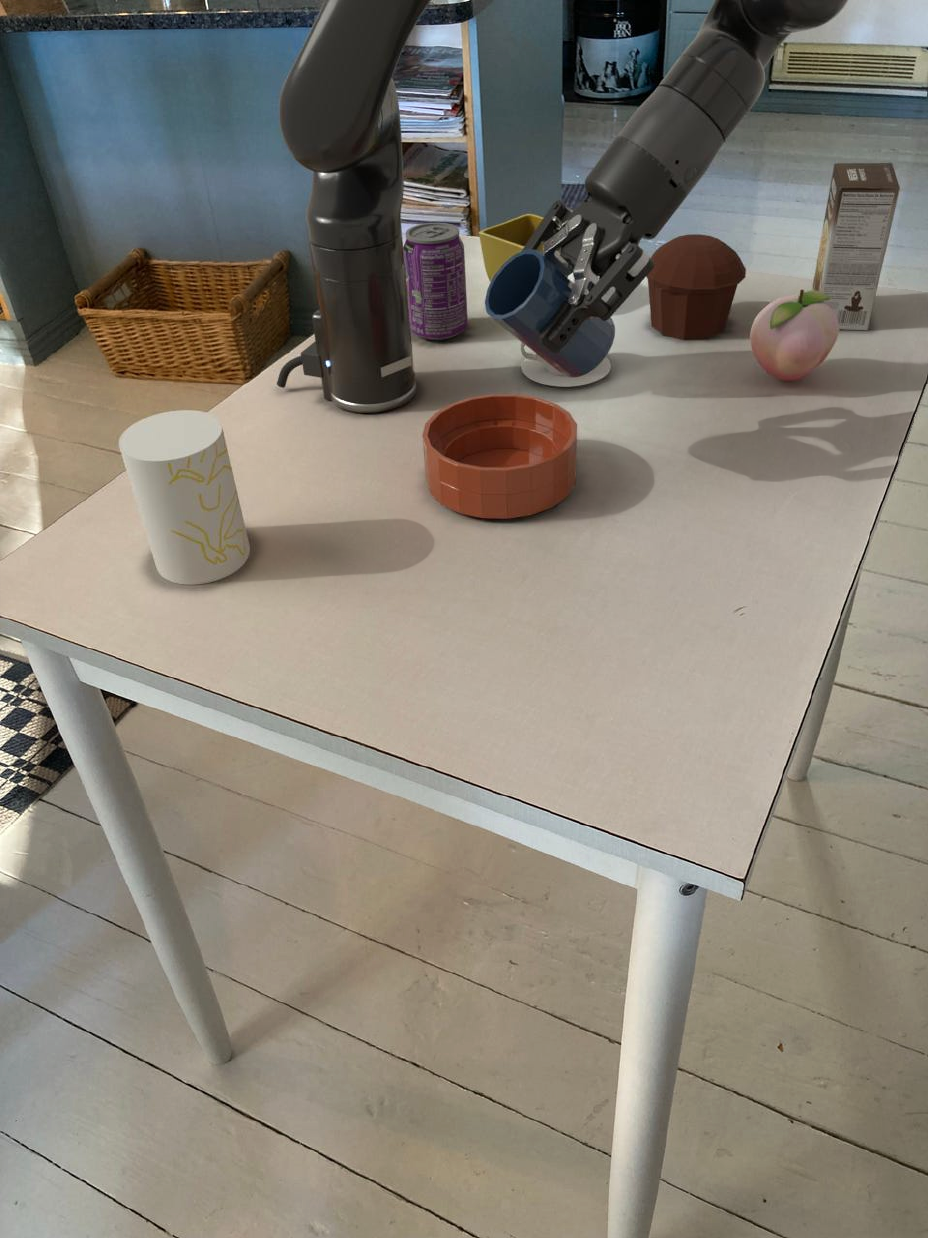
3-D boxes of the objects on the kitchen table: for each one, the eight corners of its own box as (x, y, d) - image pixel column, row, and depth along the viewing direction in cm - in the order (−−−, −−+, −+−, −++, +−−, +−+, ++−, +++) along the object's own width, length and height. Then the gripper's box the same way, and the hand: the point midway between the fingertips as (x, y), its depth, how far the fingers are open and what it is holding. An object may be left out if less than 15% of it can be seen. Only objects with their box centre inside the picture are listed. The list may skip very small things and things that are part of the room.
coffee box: (808, 298, 123) (832, 160, 113) (862, 300, 122) (892, 161, 112) (812, 329, 116) (839, 185, 106) (870, 331, 115) (903, 186, 105)
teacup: (604, 348, 115) (605, 309, 112) (616, 387, 107) (619, 346, 104) (517, 353, 115) (517, 314, 112) (524, 393, 107) (523, 352, 104)
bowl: (402, 506, 92) (396, 454, 88) (463, 434, 101) (460, 384, 98) (545, 536, 87) (545, 482, 83) (595, 457, 96) (597, 406, 93)
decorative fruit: (770, 354, 112) (784, 266, 105) (839, 373, 107) (858, 282, 101) (727, 386, 106) (739, 294, 100) (798, 407, 102) (815, 313, 96)
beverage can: (433, 315, 125) (426, 217, 117) (479, 327, 121) (475, 226, 114) (398, 336, 120) (388, 235, 113) (444, 348, 117) (438, 246, 109)
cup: (205, 595, 83) (171, 470, 75) (136, 567, 86) (96, 445, 78) (269, 544, 88) (243, 423, 80) (201, 520, 91) (170, 402, 84)
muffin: (621, 322, 120) (625, 238, 114) (685, 297, 125) (693, 216, 119) (693, 354, 113) (702, 266, 106) (759, 326, 118) (772, 241, 111)
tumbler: (552, 385, 90) (479, 327, 84) (563, 325, 92) (492, 264, 86) (609, 367, 86) (536, 305, 79) (620, 304, 88) (549, 238, 81)
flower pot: (527, 321, 122) (526, 247, 116) (479, 302, 127) (476, 230, 122) (577, 299, 126) (578, 227, 120) (529, 282, 131) (528, 212, 126)
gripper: (583, 115, 84) (463, 280, 88) (678, 155, 74) (537, 340, 78) (633, 171, 89) (517, 324, 93) (729, 215, 79) (594, 386, 83)
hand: (527, 331), depth 86 cm, fingers closed on tumbler, 6 cm apart
